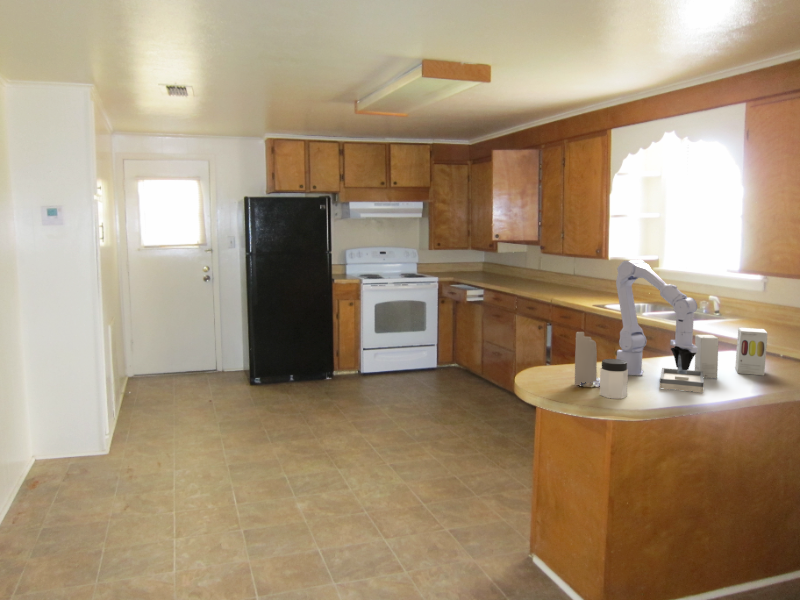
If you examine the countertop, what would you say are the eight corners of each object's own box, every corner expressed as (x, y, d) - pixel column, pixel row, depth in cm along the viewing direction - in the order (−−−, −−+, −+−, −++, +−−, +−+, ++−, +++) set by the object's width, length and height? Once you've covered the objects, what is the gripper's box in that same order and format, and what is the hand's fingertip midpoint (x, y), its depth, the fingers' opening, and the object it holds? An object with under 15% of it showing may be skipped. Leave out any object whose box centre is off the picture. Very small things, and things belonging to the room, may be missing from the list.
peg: (680, 374, 229) (681, 355, 228) (675, 372, 232) (676, 353, 231) (688, 373, 229) (689, 354, 228) (683, 371, 232) (684, 353, 231)
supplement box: (737, 373, 246) (739, 330, 244) (734, 368, 254) (737, 327, 252) (765, 375, 242) (768, 332, 240) (761, 370, 251) (764, 328, 248)
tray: (659, 388, 225) (660, 378, 224) (661, 376, 241) (662, 367, 241) (703, 392, 219) (703, 382, 219) (702, 380, 235) (702, 371, 235)
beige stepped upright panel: (616, 387, 227) (618, 332, 224) (577, 387, 227) (579, 332, 224) (609, 382, 234) (611, 328, 232) (572, 382, 234) (573, 329, 231)
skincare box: (717, 379, 237) (719, 338, 235) (698, 378, 239) (700, 337, 237) (711, 373, 246) (713, 334, 244) (693, 373, 247) (695, 333, 245)
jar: (606, 390, 222) (607, 357, 221) (629, 394, 217) (631, 360, 216) (596, 396, 216) (597, 361, 214) (619, 400, 210) (621, 365, 209)
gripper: (663, 328, 235) (661, 364, 237) (684, 335, 221) (683, 373, 223) (681, 327, 236) (679, 363, 238) (703, 334, 222) (701, 372, 223)
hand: (682, 368), depth 230 cm, fingers closed on peg, 3 cm apart
